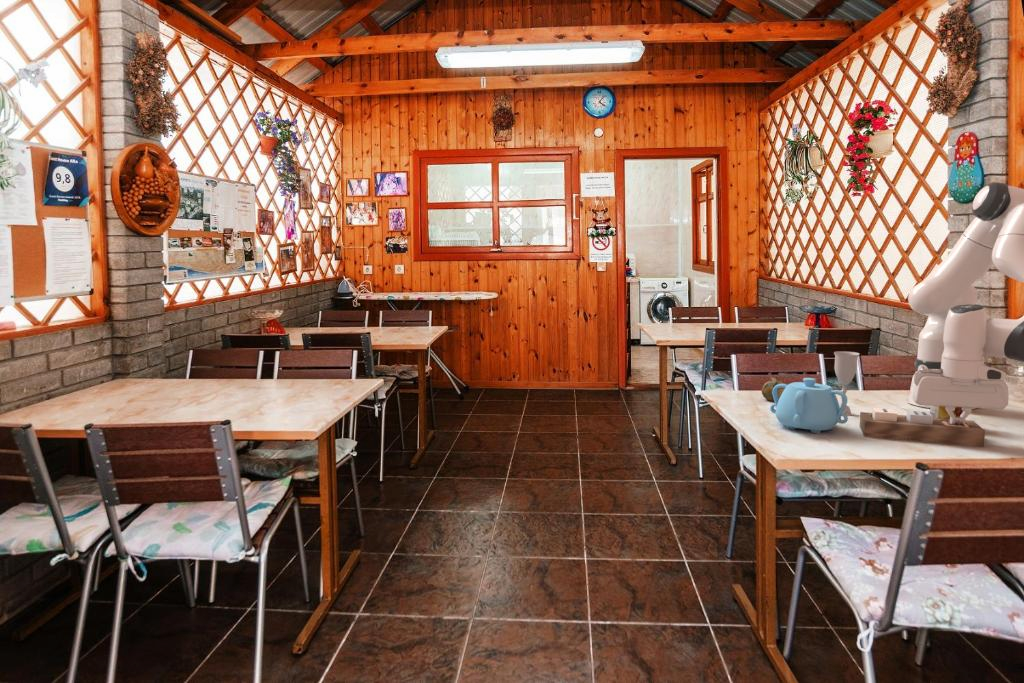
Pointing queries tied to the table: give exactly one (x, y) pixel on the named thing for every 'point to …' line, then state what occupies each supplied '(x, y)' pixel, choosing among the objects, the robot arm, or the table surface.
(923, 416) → the tile two
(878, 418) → the tile one
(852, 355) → the chalice
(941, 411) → the canned food
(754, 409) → the table surface
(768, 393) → the onion
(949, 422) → the tile three
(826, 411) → the decorative pot
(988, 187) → the robot arm
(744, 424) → the table surface
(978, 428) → the button board
